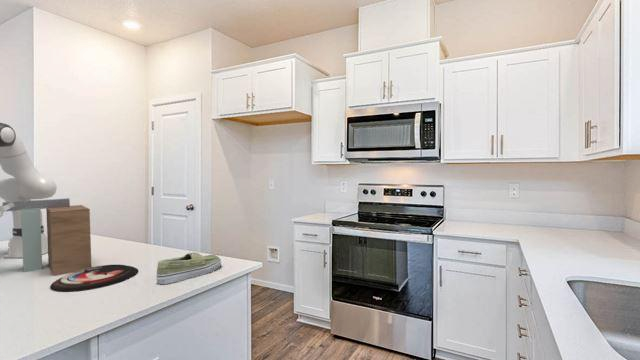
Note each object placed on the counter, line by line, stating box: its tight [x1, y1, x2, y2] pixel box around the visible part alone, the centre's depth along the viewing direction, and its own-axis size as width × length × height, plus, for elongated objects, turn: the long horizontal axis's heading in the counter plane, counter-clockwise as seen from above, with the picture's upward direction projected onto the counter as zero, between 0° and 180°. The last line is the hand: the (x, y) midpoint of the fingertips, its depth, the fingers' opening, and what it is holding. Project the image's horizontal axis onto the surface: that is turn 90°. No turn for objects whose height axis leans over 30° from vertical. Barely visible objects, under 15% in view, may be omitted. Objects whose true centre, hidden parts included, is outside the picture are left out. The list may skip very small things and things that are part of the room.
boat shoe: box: [155, 251, 222, 285], centre depth 135 cm, size 10×29×9 cm, turn 149°
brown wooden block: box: [45, 204, 92, 276], centre depth 147 cm, size 22×13×26 cm, turn 43°
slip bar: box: [2, 197, 71, 212], centre depth 145 cm, size 4×22×4 cm, turn 129°
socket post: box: [21, 208, 43, 273], centre depth 144 cm, size 8×6×26 cm
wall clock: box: [49, 264, 139, 293], centre depth 132 cm, size 27×5×30 cm
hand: (13, 203), depth 140 cm, fingers closed on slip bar, 4 cm apart
